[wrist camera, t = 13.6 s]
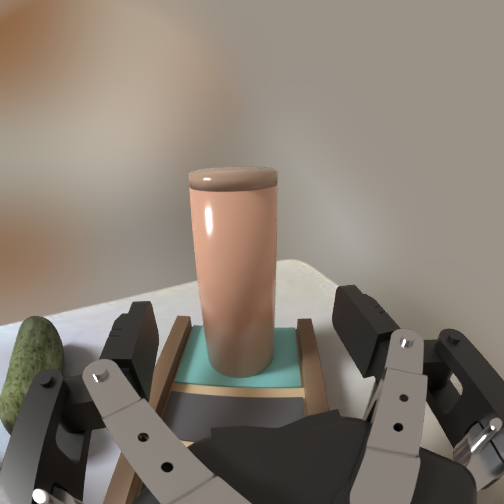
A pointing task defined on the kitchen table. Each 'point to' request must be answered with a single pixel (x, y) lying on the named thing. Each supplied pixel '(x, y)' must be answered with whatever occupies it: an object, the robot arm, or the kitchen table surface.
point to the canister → (236, 264)
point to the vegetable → (29, 364)
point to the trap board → (226, 392)
